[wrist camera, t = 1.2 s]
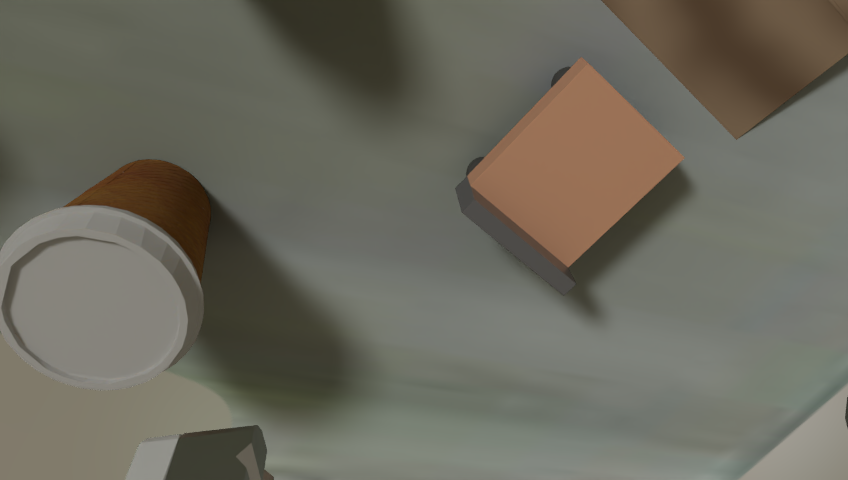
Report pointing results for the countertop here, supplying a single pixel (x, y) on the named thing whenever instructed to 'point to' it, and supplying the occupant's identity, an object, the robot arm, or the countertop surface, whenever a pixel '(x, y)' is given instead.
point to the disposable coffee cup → (109, 279)
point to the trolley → (565, 173)
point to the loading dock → (740, 49)
